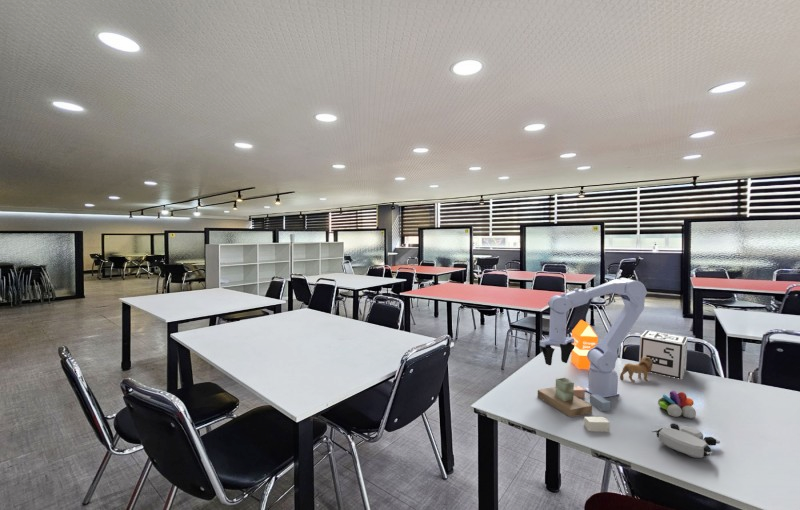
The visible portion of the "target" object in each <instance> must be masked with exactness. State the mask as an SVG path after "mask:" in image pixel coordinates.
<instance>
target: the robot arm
mask: <svg viewBox="0 0 800 510" xmlns="http://www.w3.org/2000/svg"><path fill="white" fill-rule="evenodd" d="M610 294H615V295H616V294H617V295H618V296H619V297H621V300H622V301H623V304H624V307H623V309H622V310H621V311H620V312H619V314H618V316H617V317H616V319H615V321H614V322H613V323H612V325H611V327H610V328H609V330H608V332H607V333H606V334H605V336H604V338H603V339H602V340H601V341H600V342H598V343H597V344H596V345H595V347H593V348H592V349H590V350H589V351H588V353H587V358H588V360H589V361H590V366H589V369H588V386H586V387H582V388H583V389H584V390H585V392H588V393H589V394H590V395H593V394H598V395H600V396H601V397H603V398H605V399H606V398H609V397H614V396H619V395H620V392H618V389H619V388H618V385H619V384H618V383H619V382H618V381H619V376H618V373H617V371H616V370H615V368H616V363H617V361H618V357H619V355H618V350H619V348H620V347H621V345H622V343H623V342H624V340H625V339H626V337H627V336H628V334H629V333H630V331H631V330H632V328H633V326H634V325H635V324H636V322H637V320H638V319H639V318H640V316H641V314H642V313H643V312H644V310H645V301H646V296H647V295H648V291H647V288H646V286H645V285H644V283H643V282H641V281H640V280H634V279H630V278H626V277H620V278H618V279H616V278H615V279H612V280H610V281H607V282H605V283H602V284H600V285H597V286H594V287H591V288H589V289H587V290H585V289H583V288H577V287H576V288H573V290H572V291H569V292H566V293H565V292H563V293H560V295H559V294H557V295H553V296H551V297H550V298H549V300H548V302H547V304H548V307H549V308H550V309H549V310H550V311H549V312H550V313H549V331H548V332H549V334H548V337H547V338H544V339H540V340H539V348H540V349H541V351H542V354H543V357H544V362H545V365H548V366H552V364H553V363H552V362H553V356H554V353H555V352H554V351H555V350H556V349H555V348H553V347H552V346H555V345H556V346H557V345H559V346H560V353H561V354H560V358H561V362H562V363H564V364H568V361H569V358H570V357H571V352H572V350H573V349H574V347H575V345H573V343H574V338H572V336H569V337H568V336H567V317H568V315H567V314H568V313H567V312H569V310H570V309H573V308H576V307H580V306H583V305H586V304H588V303H589V301H590V300H591V299H594V298H598V297H602V296H607V295H610Z"/></svg>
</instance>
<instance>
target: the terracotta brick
mask: <svg viewBox="0 0 800 510" xmlns="http://www.w3.org/2000/svg"><path fill="white" fill-rule="evenodd" d="M583 388H584V387H582V386H580V385H578V386H577V385H576V386H575V385H574V396H576V397H577V398H579V399H582V398H585V397H586V395H585V394H586V391H585V390H584V389H583Z"/></svg>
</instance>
